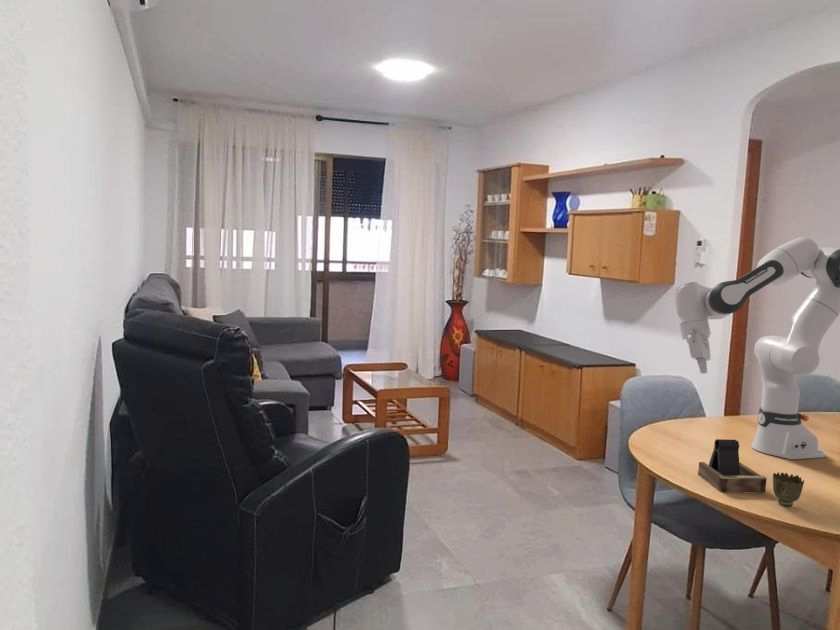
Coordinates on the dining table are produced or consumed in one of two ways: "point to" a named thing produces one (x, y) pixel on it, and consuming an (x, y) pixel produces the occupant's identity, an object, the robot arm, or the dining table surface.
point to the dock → (733, 479)
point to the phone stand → (726, 457)
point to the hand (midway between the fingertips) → (704, 373)
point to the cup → (787, 488)
